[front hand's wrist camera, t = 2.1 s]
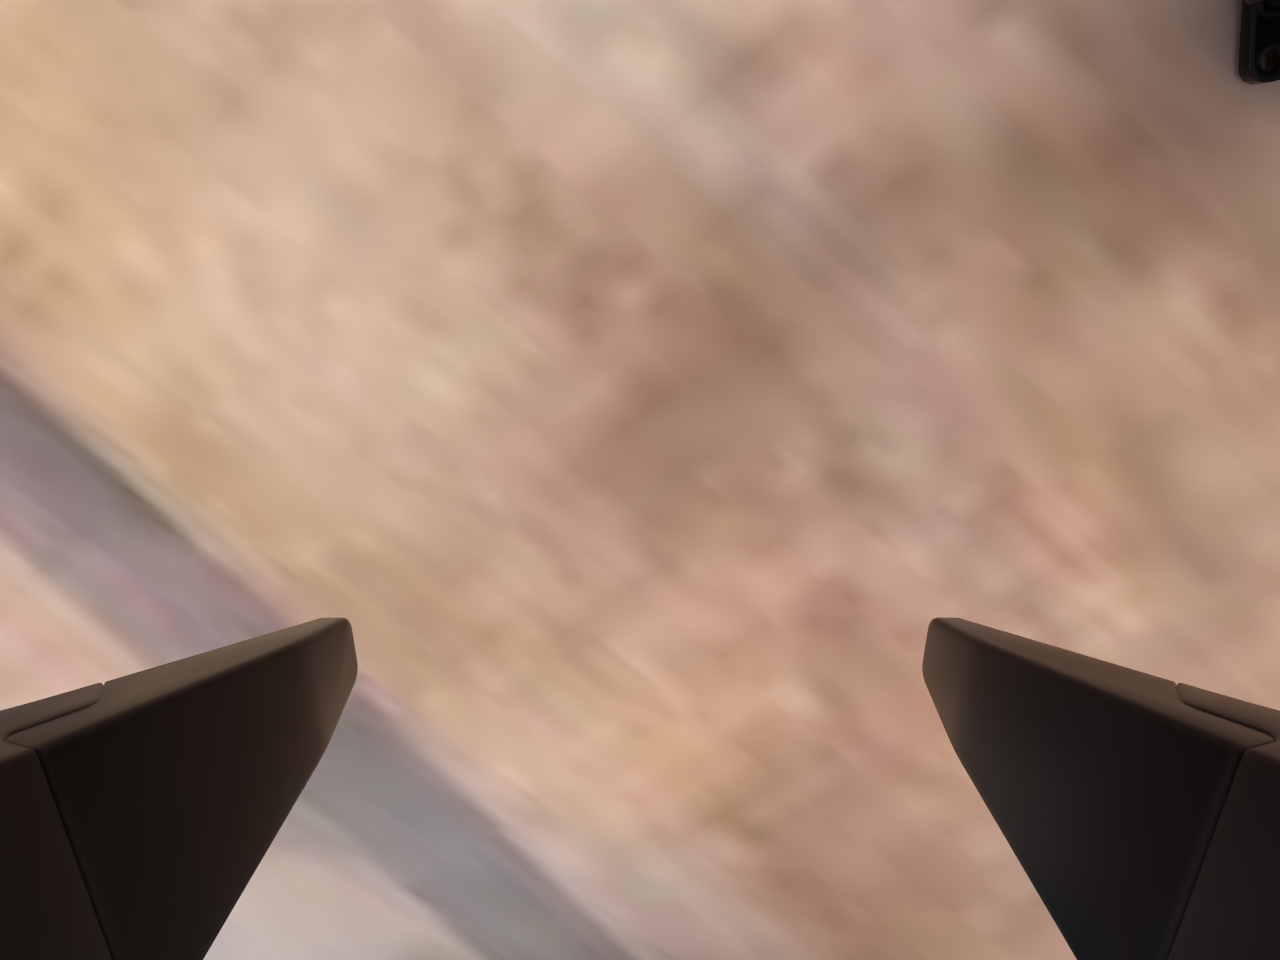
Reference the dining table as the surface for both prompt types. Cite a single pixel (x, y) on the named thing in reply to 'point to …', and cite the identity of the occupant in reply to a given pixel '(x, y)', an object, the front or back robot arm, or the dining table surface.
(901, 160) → the dining table surface
